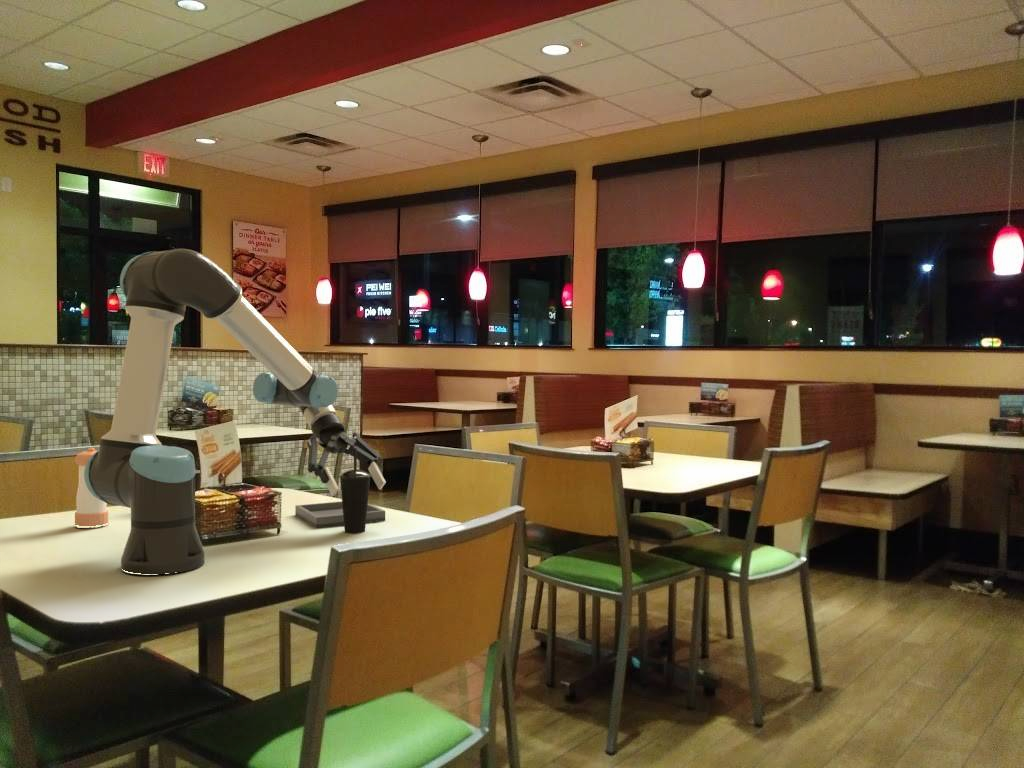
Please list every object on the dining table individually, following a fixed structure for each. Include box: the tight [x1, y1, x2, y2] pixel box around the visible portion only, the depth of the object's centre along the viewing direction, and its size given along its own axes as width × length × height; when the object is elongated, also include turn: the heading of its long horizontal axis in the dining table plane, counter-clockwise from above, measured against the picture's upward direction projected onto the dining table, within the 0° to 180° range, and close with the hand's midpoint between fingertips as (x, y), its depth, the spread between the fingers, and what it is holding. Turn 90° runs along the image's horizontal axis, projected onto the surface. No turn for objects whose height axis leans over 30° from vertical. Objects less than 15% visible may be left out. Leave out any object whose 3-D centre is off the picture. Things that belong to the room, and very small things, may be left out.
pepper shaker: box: [74, 447, 109, 526], centre depth 191 cm, size 7×7×19 cm
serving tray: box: [295, 500, 386, 529], centre depth 204 cm, size 18×18×2 cm
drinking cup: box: [338, 448, 372, 534], centre depth 188 cm, size 8×8×20 cm
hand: (359, 489), depth 188 cm, fingers open, 13 cm apart
